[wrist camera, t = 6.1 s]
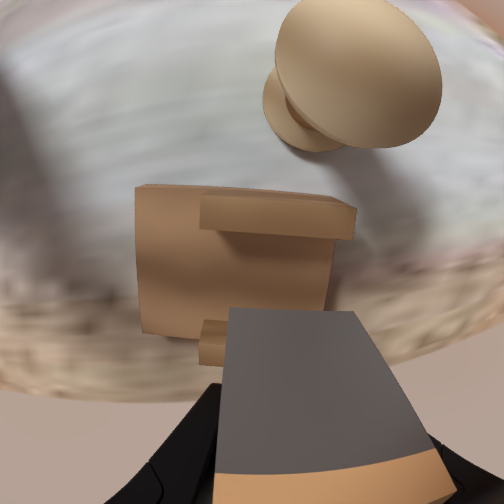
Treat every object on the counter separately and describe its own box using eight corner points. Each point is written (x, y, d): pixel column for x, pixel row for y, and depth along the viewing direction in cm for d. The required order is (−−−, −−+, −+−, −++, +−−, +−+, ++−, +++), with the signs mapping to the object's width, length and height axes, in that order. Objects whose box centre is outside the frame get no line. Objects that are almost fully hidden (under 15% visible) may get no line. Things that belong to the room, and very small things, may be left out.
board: (146, 184, 17) (116, 193, 12) (330, 196, 17) (356, 208, 13) (150, 317, 19) (130, 356, 15) (310, 328, 20) (324, 369, 16)
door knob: (266, 51, 14) (281, -25, 6) (363, 67, 15) (436, 19, 7) (258, 146, 16) (270, 133, 8) (358, 158, 16) (439, 163, 8)
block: (225, 416, 9) (217, 573, 4) (229, 306, 8) (210, 533, 2) (322, 416, 9) (358, 561, 4) (353, 311, 8) (457, 490, 2)
